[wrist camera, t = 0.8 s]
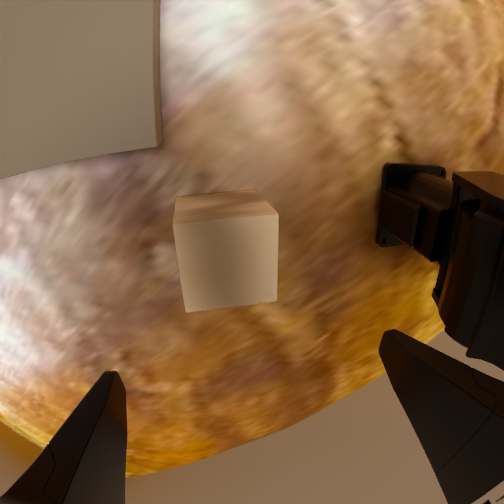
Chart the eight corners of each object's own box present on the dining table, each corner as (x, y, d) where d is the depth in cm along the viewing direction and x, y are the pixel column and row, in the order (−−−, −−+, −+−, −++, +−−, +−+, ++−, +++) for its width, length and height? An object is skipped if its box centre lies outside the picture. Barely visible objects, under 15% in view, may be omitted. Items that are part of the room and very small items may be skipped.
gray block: (162, -31, 11) (158, -60, 8) (163, 140, 17) (156, 146, 13) (1, 17, 9) (-28, 6, 6) (2, 173, 15) (-29, 188, 11)
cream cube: (256, 189, 19) (278, 214, 14) (257, 260, 21) (277, 300, 17) (176, 196, 18) (172, 224, 14) (185, 268, 20) (186, 312, 16)
